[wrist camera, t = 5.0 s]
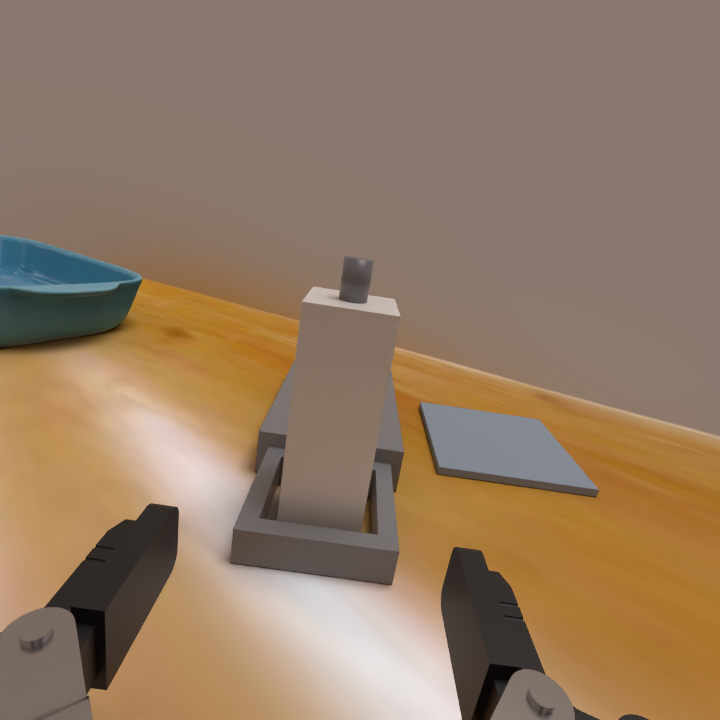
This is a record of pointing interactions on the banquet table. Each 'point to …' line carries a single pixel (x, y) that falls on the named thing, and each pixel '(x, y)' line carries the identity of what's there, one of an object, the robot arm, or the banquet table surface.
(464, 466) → the rubber mat
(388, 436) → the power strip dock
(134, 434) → the banquet table surface
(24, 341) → the casserole dish
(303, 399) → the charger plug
